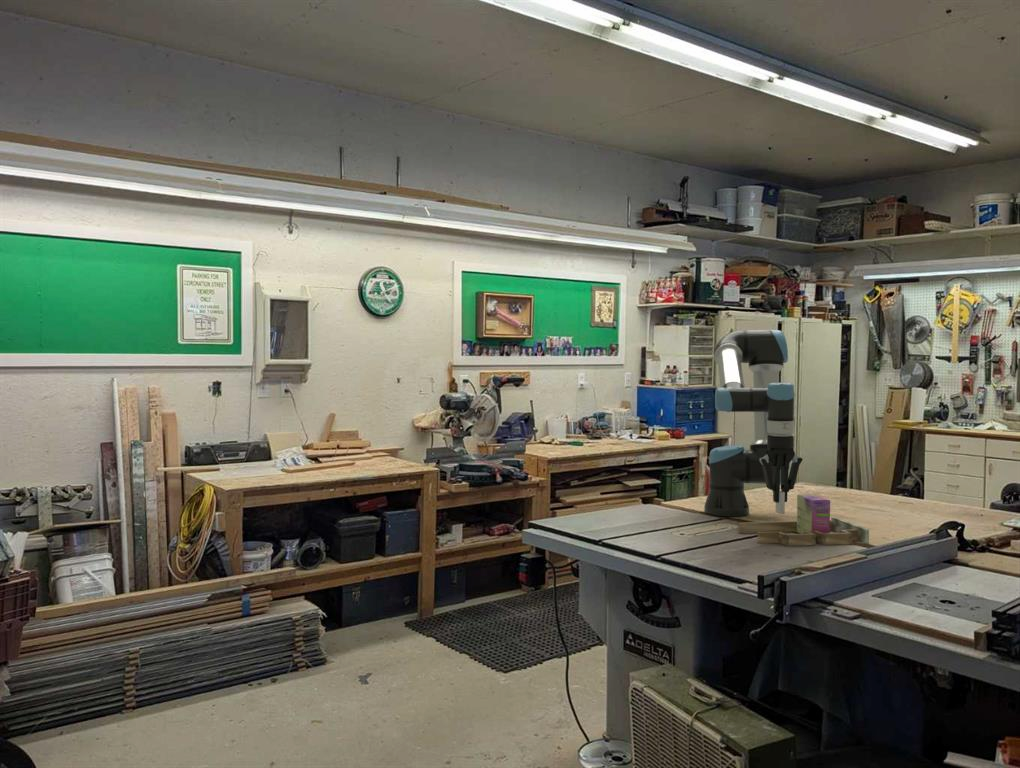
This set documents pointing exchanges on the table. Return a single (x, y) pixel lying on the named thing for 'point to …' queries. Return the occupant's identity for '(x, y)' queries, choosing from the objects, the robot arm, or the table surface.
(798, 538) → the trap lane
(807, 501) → the box
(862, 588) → the table surface
